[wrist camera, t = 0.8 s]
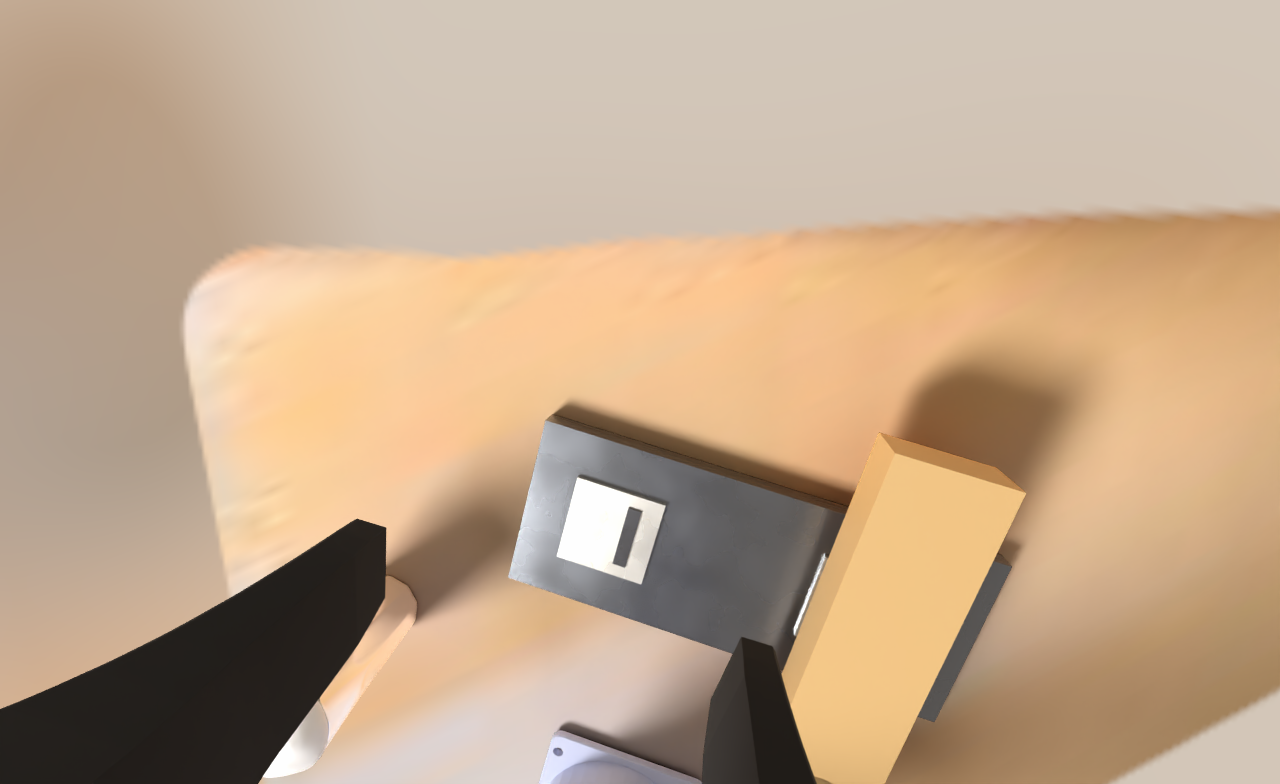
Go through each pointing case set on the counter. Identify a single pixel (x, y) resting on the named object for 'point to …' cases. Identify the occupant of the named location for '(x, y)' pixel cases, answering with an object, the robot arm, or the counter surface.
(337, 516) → the counter surface
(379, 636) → the milkshake
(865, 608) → the light wooden plank
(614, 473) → the panel
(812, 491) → the counter surface
